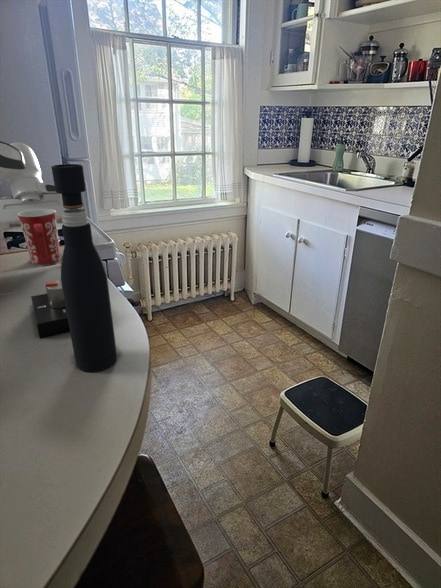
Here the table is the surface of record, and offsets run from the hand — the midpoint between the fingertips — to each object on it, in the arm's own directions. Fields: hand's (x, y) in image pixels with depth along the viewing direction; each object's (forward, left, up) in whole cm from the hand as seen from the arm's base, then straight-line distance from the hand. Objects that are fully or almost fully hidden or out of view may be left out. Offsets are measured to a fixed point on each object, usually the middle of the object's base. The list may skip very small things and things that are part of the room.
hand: (39, 237), depth 108 cm
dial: (0, -42, -2) cm, 42 cm away
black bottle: (+2, -60, -6) cm, 60 cm away
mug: (0, -8, -6) cm, 10 cm away
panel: (0, -42, -5) cm, 42 cm away
